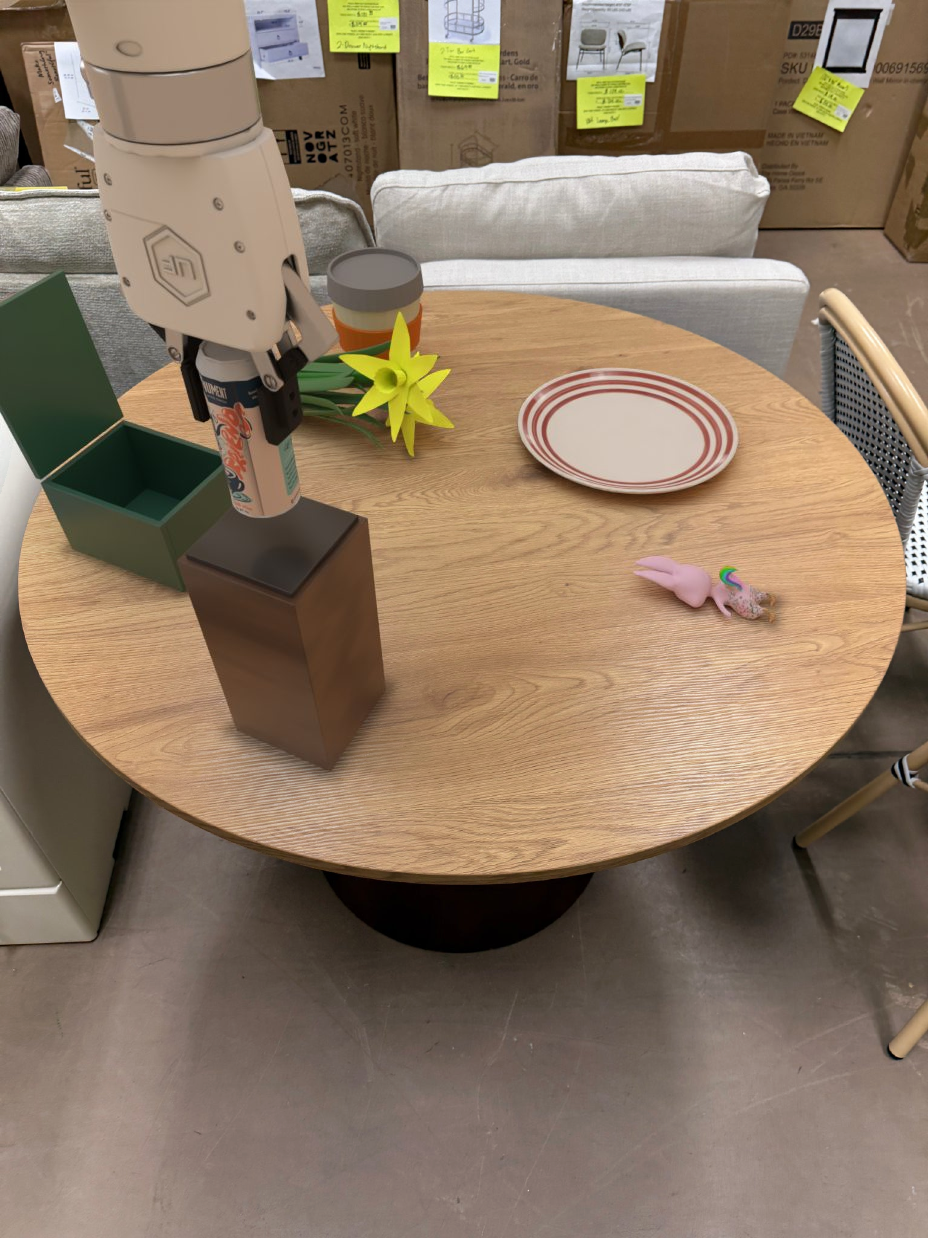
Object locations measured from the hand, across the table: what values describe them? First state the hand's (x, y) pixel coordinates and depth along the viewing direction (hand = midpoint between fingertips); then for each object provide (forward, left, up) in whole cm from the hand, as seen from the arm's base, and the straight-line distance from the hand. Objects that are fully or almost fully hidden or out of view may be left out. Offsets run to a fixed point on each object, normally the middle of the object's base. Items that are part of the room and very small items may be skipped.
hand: (249, 419), depth 52 cm
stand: (0, 0, -32) cm, 32 cm away
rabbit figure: (+30, -29, -32) cm, 53 cm away
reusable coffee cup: (+54, +23, -32) cm, 67 cm away
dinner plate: (+53, -13, -32) cm, 63 cm away
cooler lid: (+13, +36, -14) cm, 41 cm away
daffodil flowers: (+38, +21, -32) cm, 54 cm away
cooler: (+13, +28, -32) cm, 45 cm away
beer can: (0, 0, -7) cm, 7 cm away
